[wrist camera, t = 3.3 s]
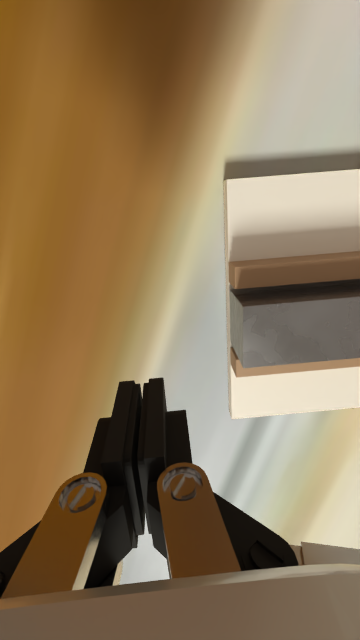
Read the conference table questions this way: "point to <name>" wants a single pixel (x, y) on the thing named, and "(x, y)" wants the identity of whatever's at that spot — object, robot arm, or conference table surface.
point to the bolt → (295, 323)
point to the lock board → (291, 278)
